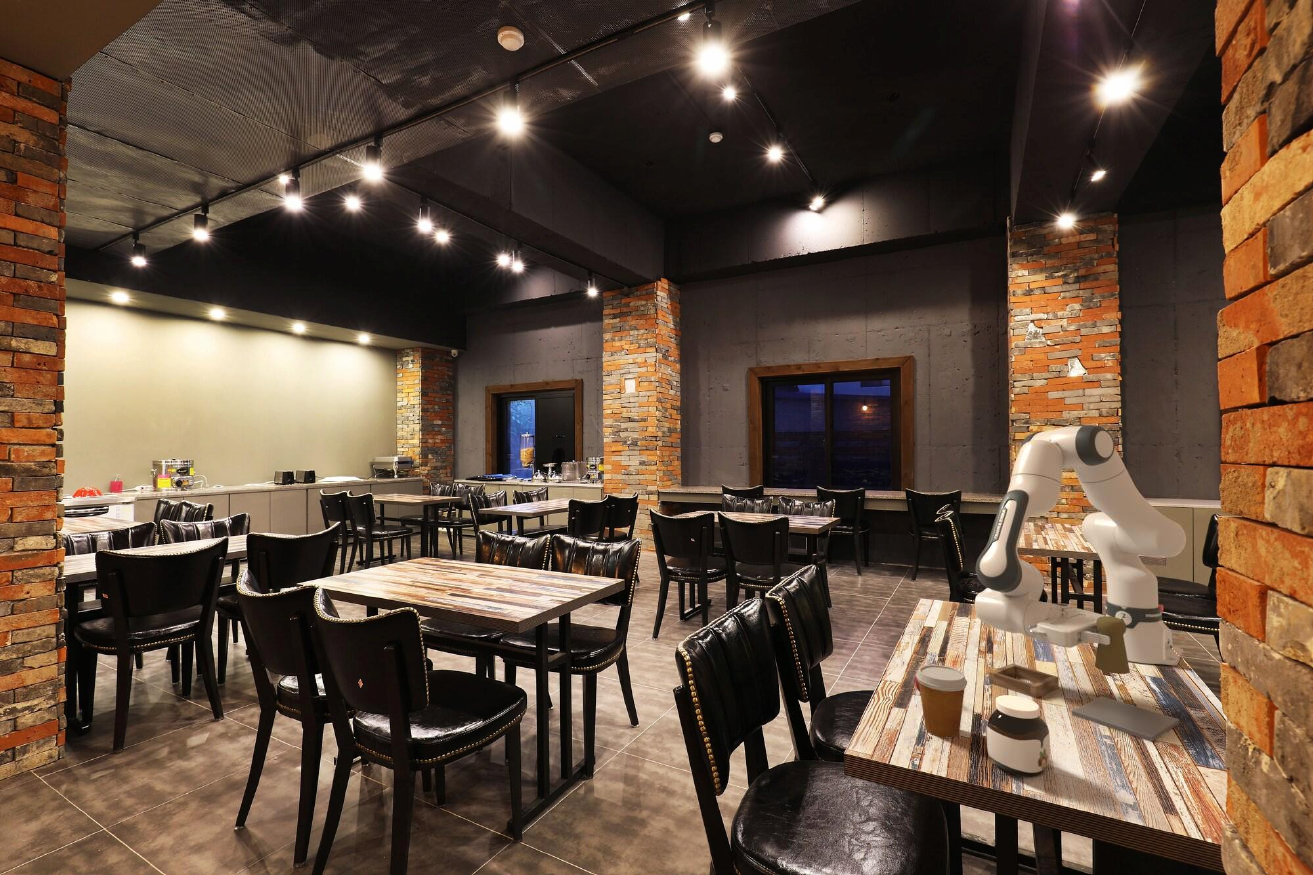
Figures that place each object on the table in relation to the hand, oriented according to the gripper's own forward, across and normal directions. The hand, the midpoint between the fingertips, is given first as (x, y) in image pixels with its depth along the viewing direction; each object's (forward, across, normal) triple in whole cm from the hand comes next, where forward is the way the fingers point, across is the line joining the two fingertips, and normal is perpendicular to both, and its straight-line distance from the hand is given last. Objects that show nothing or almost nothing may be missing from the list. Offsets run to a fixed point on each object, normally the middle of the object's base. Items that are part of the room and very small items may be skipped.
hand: (1116, 638), depth 128 cm
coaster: (+1, 0, +17) cm, 17 cm away
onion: (-28, -25, +17) cm, 41 cm away
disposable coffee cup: (-16, -37, +17) cm, 44 cm away
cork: (-1, 0, +7) cm, 7 cm away
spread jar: (-2, -37, +17) cm, 41 cm away
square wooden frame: (-20, +1, +17) cm, 26 cm away
